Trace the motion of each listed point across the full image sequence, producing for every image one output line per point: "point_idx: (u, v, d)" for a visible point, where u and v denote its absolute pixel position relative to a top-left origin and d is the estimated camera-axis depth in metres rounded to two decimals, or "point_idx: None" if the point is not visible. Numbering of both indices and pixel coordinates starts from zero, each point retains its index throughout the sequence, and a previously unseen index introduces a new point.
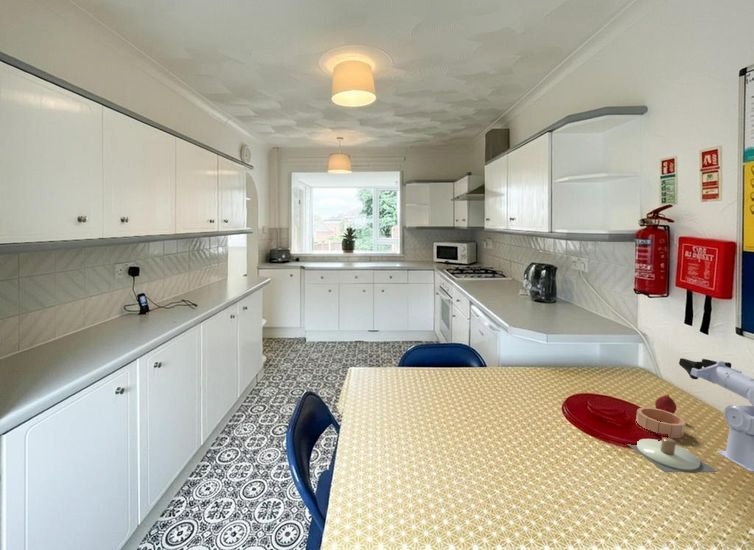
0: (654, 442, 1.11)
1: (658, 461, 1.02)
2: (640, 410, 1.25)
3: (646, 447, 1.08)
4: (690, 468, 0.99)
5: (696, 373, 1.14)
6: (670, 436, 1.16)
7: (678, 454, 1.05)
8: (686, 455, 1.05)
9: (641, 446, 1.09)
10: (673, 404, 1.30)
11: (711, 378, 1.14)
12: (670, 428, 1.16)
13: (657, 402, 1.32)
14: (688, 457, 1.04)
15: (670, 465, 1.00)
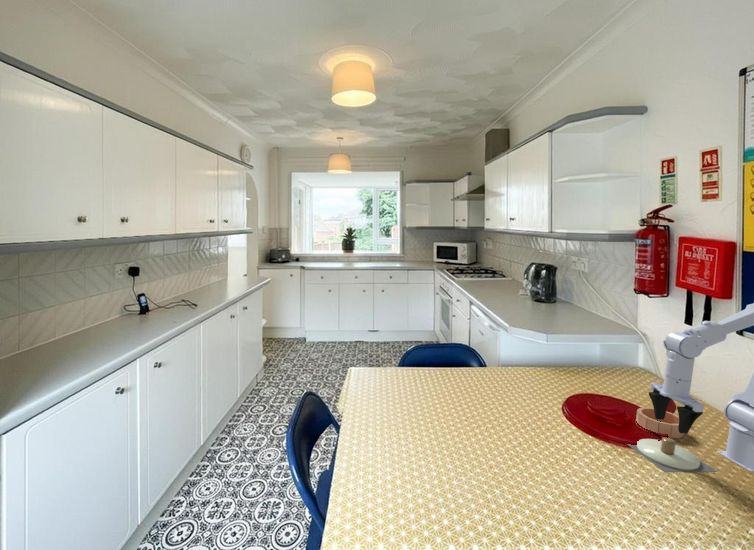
0: (654, 442, 1.11)
1: (658, 461, 1.02)
2: (640, 410, 1.25)
3: (646, 447, 1.08)
4: (691, 468, 0.99)
5: (700, 405, 0.97)
6: (670, 436, 1.16)
7: (678, 454, 1.05)
8: (686, 455, 1.05)
9: (641, 446, 1.09)
10: (673, 404, 1.30)
11: (688, 395, 1.02)
12: (670, 428, 1.16)
13: None
14: (688, 457, 1.04)
15: (670, 465, 1.00)
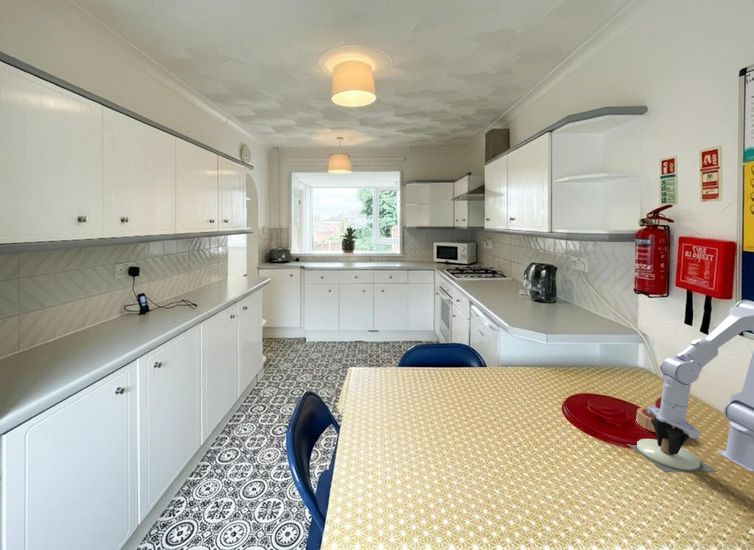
0: (654, 442, 1.11)
1: (658, 461, 1.02)
2: (640, 410, 1.25)
3: (646, 447, 1.08)
4: (691, 468, 0.99)
5: (696, 431, 0.98)
6: None
7: (678, 454, 1.05)
8: (686, 455, 1.05)
9: (641, 446, 1.09)
10: None
11: (684, 420, 1.03)
12: None
13: (657, 402, 1.32)
14: (688, 457, 1.04)
15: (670, 465, 1.00)
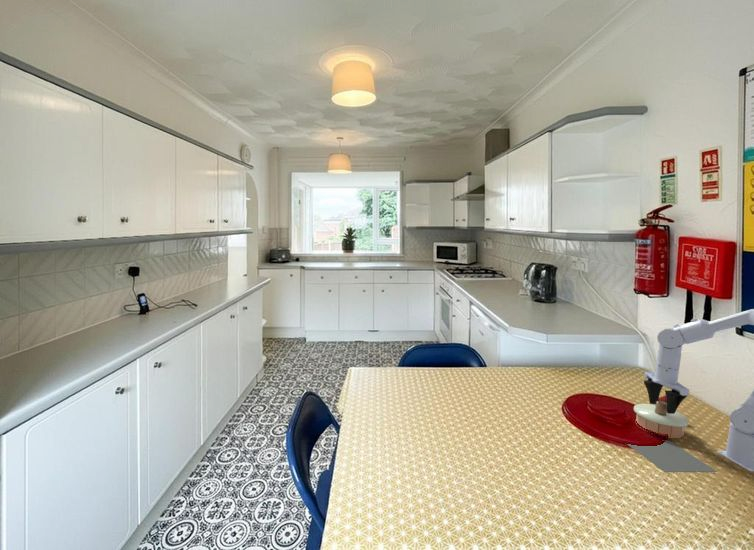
0: (648, 406, 1.27)
1: (654, 420, 1.17)
2: None
3: (643, 410, 1.23)
4: (682, 425, 1.15)
5: (686, 389, 1.14)
6: (670, 436, 1.16)
7: (670, 415, 1.21)
8: (676, 415, 1.21)
9: (638, 409, 1.24)
10: None
11: (676, 382, 1.18)
12: (670, 428, 1.16)
13: None
14: (678, 416, 1.20)
15: (665, 423, 1.16)
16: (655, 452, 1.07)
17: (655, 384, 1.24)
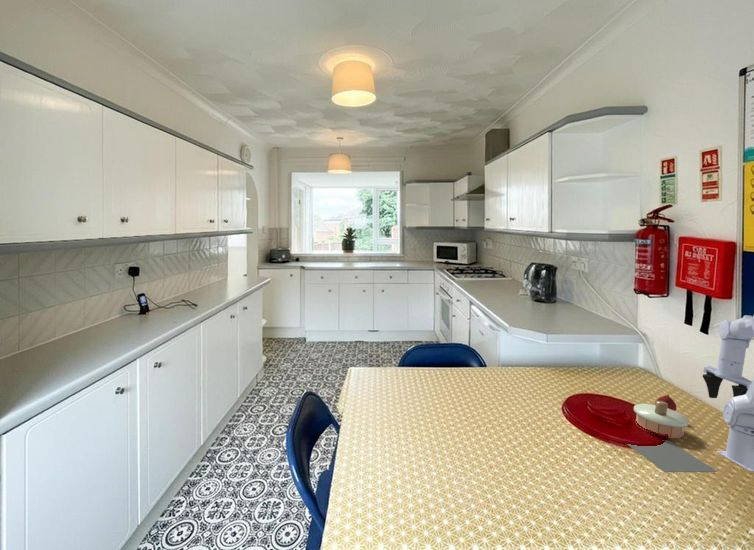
0: (648, 406, 1.27)
1: (654, 420, 1.17)
2: None
3: (643, 410, 1.23)
4: (682, 425, 1.15)
5: None
6: (670, 436, 1.16)
7: (670, 415, 1.21)
8: (676, 415, 1.21)
9: (638, 409, 1.24)
10: (673, 404, 1.30)
11: (741, 376, 1.17)
12: (670, 428, 1.16)
13: None
14: (678, 416, 1.20)
15: (665, 423, 1.16)
16: (655, 452, 1.07)
17: (715, 378, 1.23)
